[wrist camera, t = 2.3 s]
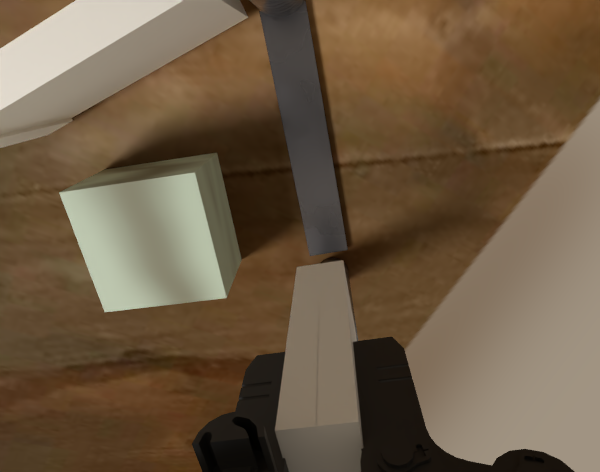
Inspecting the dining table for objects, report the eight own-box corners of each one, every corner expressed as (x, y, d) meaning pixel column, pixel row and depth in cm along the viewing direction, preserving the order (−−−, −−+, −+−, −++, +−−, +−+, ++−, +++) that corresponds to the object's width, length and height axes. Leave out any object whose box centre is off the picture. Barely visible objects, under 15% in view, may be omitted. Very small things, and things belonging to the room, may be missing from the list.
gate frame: (312, 288, 28) (308, 436, 17) (242, -43, 21) (159, -158, 10) (357, 281, 28) (384, 427, 17) (302, -57, 21) (283, -193, 10)
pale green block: (139, 271, 28) (104, 312, 24) (105, 168, 26) (58, 192, 21) (241, 258, 28) (226, 297, 23) (217, 152, 25) (194, 172, 20)
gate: (232, -17, 21) (174, -70, 12) (249, 20, 21) (205, -7, 13) (26, 105, 23) (-135, 128, 15) (47, 135, 24) (-98, 173, 16)
